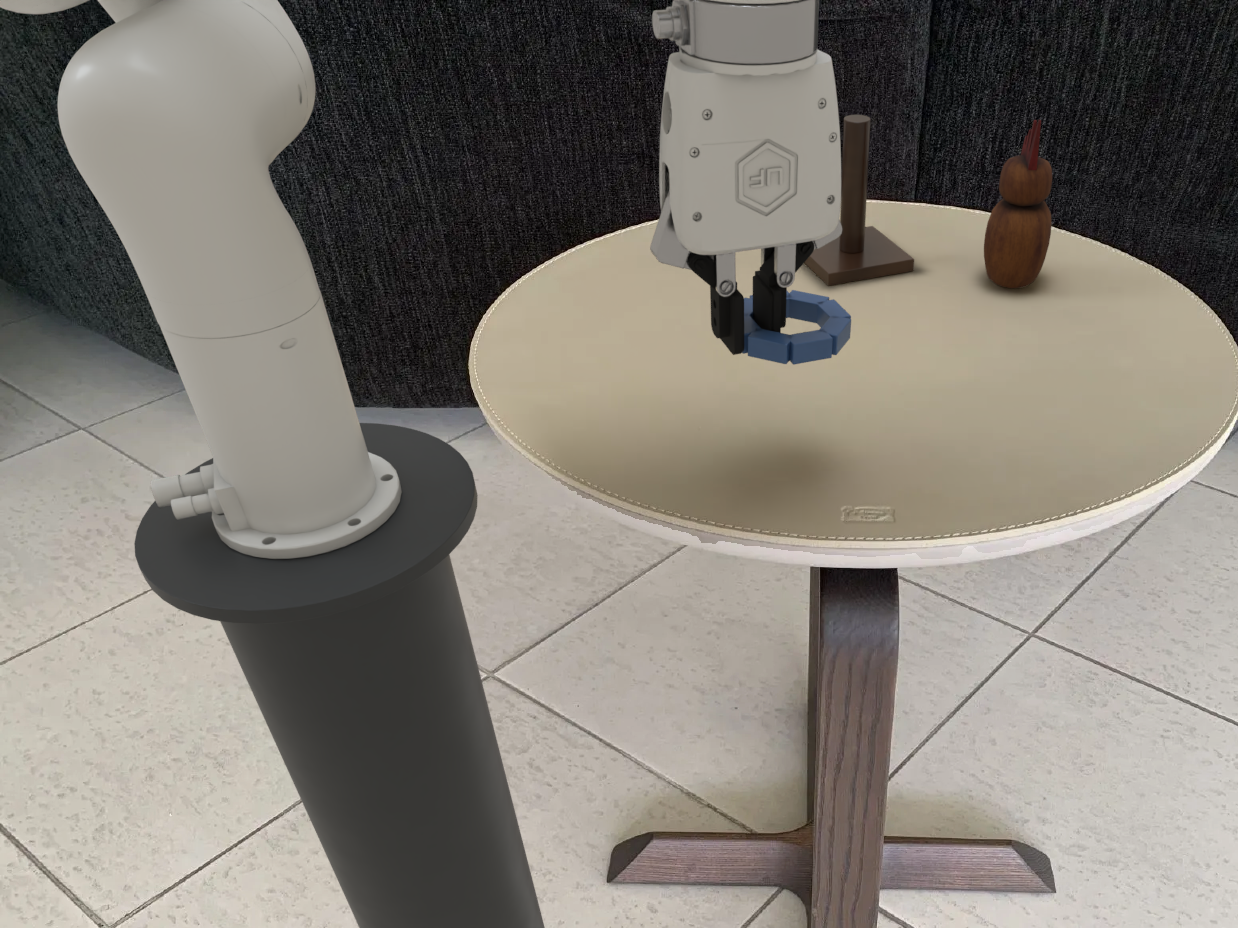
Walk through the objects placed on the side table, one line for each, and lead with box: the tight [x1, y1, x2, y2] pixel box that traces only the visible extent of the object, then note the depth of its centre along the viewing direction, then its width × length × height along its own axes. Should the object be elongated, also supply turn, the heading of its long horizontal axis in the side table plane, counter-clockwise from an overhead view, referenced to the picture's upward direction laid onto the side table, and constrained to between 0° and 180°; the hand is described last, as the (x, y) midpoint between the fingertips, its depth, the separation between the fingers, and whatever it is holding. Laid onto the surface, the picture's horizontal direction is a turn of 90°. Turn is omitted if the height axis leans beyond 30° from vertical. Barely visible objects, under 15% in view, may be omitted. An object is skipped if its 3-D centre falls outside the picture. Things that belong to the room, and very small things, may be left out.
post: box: [803, 114, 915, 287], centre depth 100 cm, size 9×9×13 cm
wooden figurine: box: [983, 119, 1053, 289], centre depth 96 cm, size 7×6×15 cm
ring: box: [741, 289, 852, 366], centre depth 70 cm, size 8×8×1 cm
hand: (748, 340), depth 69 cm, fingers closed on ring, 1 cm apart
